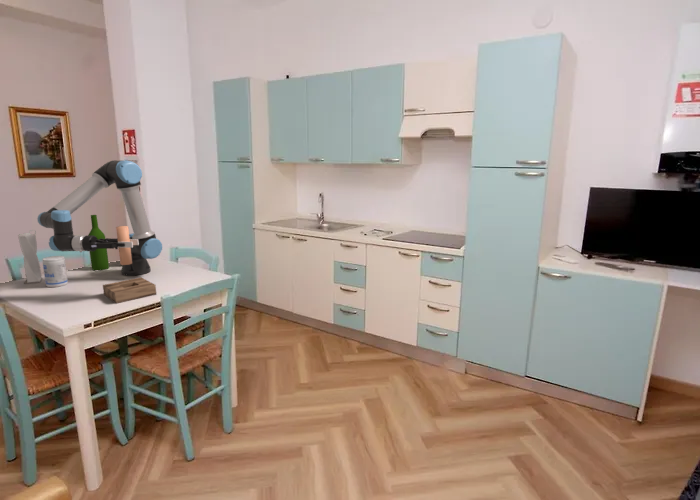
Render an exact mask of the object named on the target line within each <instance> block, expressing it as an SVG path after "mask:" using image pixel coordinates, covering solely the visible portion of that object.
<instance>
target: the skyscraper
mask: <svg viewBox="0 0 700 500" xmlns="http://www.w3.org/2000/svg"><path fill="white" fill-rule="evenodd" d="M31 232H34V234H32V233H31ZM36 233H37V232H36V230H35V229H30V230H29V231H28V232H27V233H26V232H24V233H23V234H18V235H17V237H18V242H19V246H20V249H21V252H22V255H23V264H24V265H23V267H24V273H25V275H24V276H25V278H26V279H25V281H24V282H23V285H26V284H28V285H29V284H34V283H35V284H36V283H41V281H42V280H43V278H42V269H41V265H40V260H39V257H38V255H37V254H38V253H37V251H38V248H37V247H38V246H37V245H38V244H37V236H36V235H37V234H36Z"/></svg>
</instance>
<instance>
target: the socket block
mask: <svg viewBox="0 0 700 500" xmlns="http://www.w3.org/2000/svg"><path fill="white" fill-rule="evenodd" d="M102 290H103V291H102V292H103V295H104V296H105V297H106V298H108V299H110V301H112V302H113V303H115V304H121V303H125V302H130V301H133V300H134V301H135V300H138V299H143V298H147V297H152V296H155V295H157V287H156V284H155V283H153V282H150V281H149V280H147V279H146V278H143V277H137V278H131V279H127V280H122V281H116V282H110V283H106V284H102Z"/></svg>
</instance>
